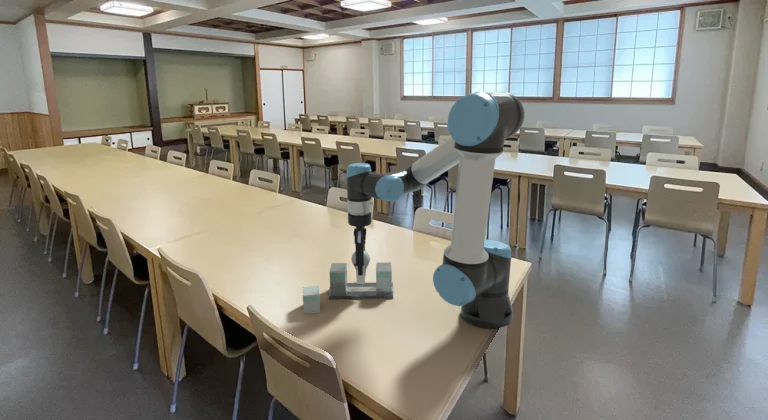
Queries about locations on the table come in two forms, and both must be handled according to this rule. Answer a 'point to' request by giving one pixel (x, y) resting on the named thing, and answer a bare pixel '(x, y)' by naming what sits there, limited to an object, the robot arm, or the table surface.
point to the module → (311, 299)
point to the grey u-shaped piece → (360, 291)
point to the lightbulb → (366, 259)
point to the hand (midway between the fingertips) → (361, 279)
